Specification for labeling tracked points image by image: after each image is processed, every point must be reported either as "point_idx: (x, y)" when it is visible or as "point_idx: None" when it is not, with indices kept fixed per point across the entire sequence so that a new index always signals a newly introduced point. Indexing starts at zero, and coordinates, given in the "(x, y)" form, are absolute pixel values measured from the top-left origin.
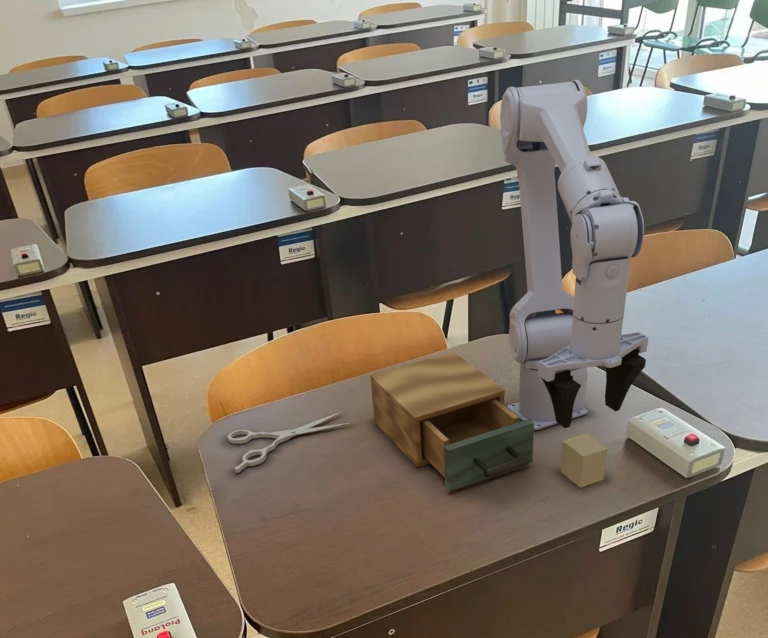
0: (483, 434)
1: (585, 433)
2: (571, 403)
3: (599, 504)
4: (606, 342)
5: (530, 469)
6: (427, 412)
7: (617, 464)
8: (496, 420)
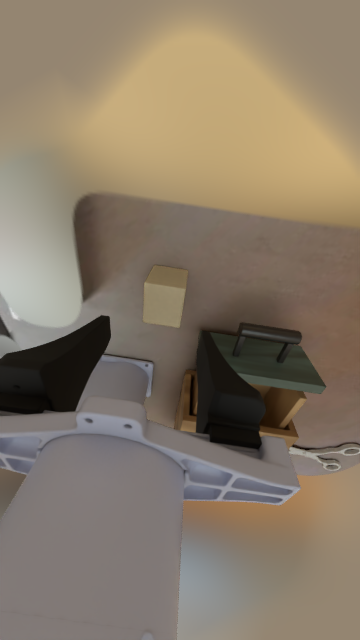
0: (267, 384)
1: (144, 322)
2: (215, 361)
3: (194, 230)
4: (108, 529)
5: (202, 325)
6: (281, 436)
7: (120, 276)
8: None
